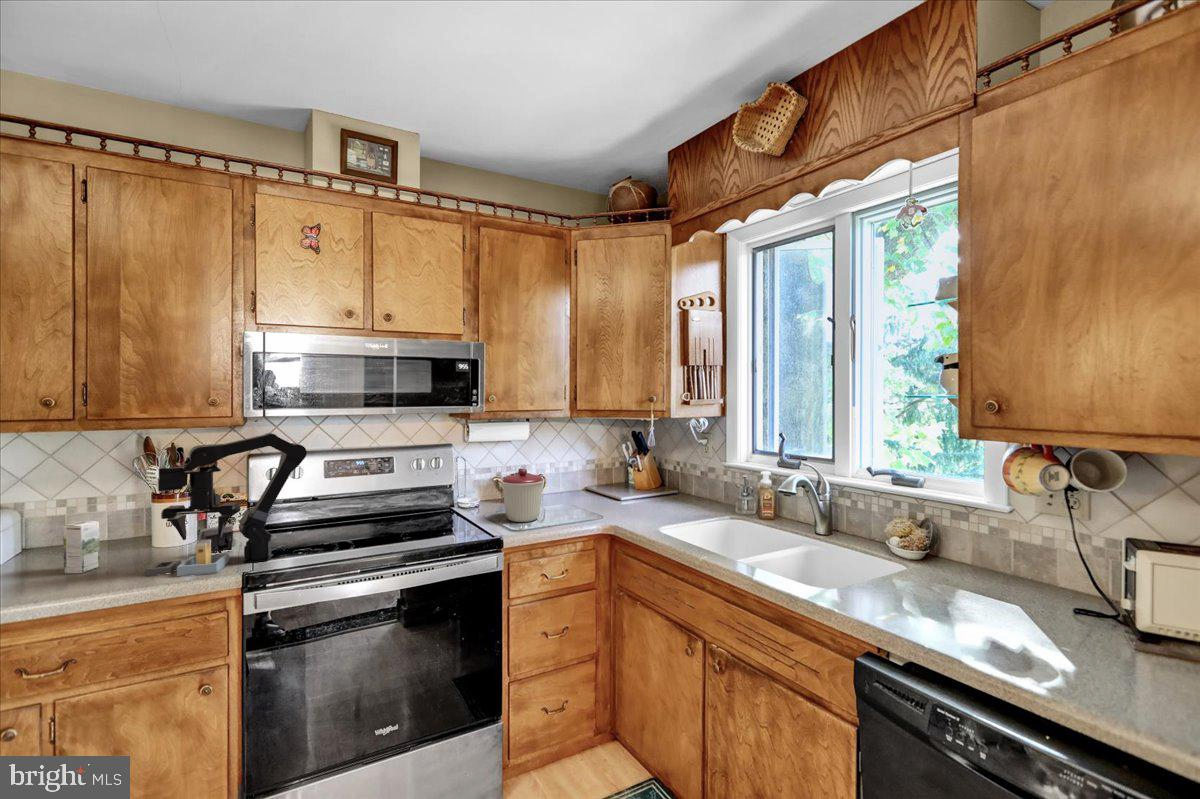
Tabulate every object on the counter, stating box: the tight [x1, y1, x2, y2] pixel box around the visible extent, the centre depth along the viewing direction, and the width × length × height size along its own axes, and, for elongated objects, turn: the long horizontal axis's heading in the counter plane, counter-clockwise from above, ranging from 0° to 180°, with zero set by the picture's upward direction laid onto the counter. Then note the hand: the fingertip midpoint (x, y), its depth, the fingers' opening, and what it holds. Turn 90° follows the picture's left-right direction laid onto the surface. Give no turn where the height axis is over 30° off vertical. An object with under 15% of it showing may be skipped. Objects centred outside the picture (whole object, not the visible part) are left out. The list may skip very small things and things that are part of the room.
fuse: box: [195, 539, 211, 565], centre depth 165 cm, size 2×4×8 cm, turn 16°
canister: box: [500, 468, 546, 523], centre depth 225 cm, size 18×18×21 cm
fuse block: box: [145, 559, 182, 577], centre depth 164 cm, size 6×7×2 cm
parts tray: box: [176, 552, 230, 577], centre depth 165 cm, size 10×10×3 cm
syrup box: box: [62, 520, 101, 574], centre depth 164 cm, size 6×6×14 cm
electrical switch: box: [198, 523, 234, 553], centre depth 180 cm, size 9×5×9 cm, turn 141°
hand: (202, 538), depth 164 cm, fingers open, 9 cm apart
